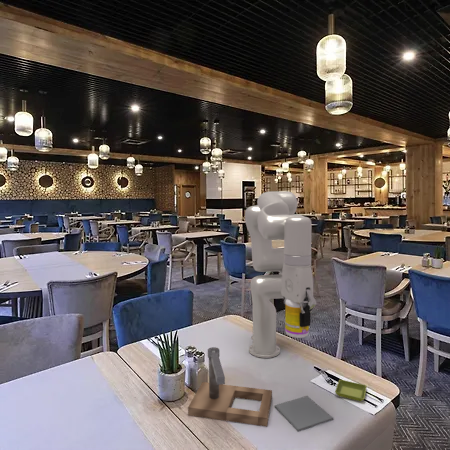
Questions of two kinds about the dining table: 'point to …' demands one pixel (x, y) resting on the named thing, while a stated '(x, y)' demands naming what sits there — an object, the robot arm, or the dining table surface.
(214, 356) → the retention bar
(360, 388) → the olive square tray
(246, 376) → the dining table surface
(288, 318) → the supplement bottle
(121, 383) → the dining table surface
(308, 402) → the coaster pad
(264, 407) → the collar stand
